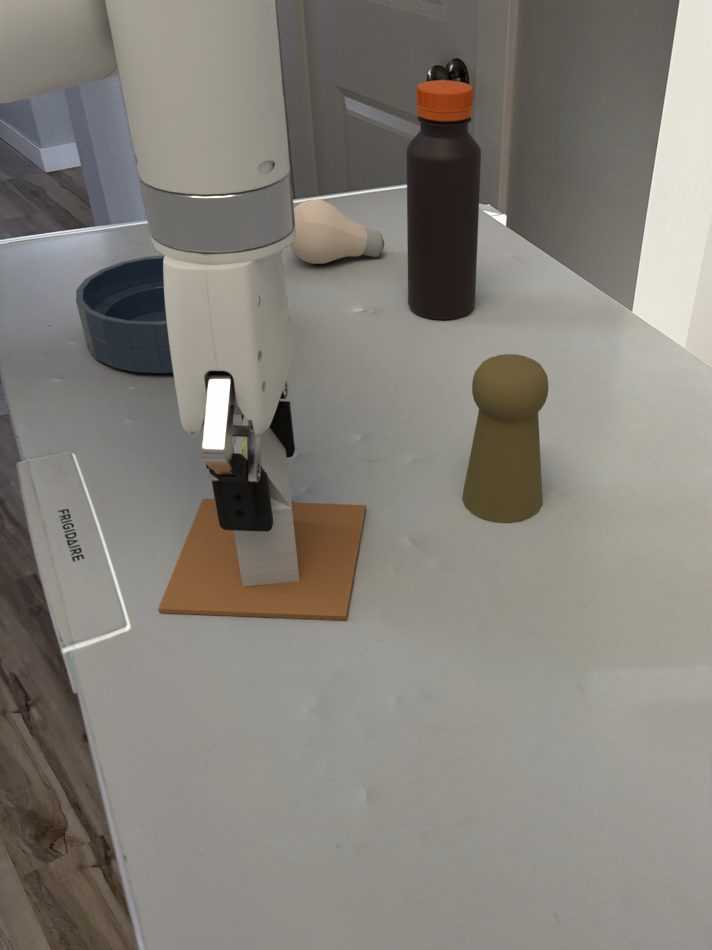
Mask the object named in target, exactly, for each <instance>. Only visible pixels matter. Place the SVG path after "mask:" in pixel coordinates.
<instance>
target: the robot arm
mask: <svg viewBox="0 0 712 950" xmlns="http://www.w3.org/2000/svg"><path fill="white" fill-rule="evenodd" d="M277 17H278V16H277V5H276V0H0V104H9V103H14V102H18V101H22V100H27V99H30V98H34V97H38V96H41V95H44V94H45V95H46V94H49V93H52V92H56V91H60V90H64V89H67V88H71V87H76V86H79V85H83V84H87V83H90V82H97V81H102V80H106V79H107V80H108V79H112V78H115V77H119V80H120V86H121V90H122V96H123V100H124V105H125V111H126V117H127V123H128V128H129V133H130V138H131V144H132V148H133V153H134V158H135V164H136V169H137V173H138V179H139V184H140V190H141V195H142V199H143V205H144V210H145V215H146V221H147V226H148V230H149V236H150V237H149V238H150V243H151V245H152V247H153V249H155V251H157V252H158V253H159V254H161V255H165V256H164V260H163V277H164V297H165V310H166V320H167V329H168V338H169V345H170V353H171V360H172V367H173V372H172V374H173V381H174V388H175V393H176V400H177V407H178V413H179V419H180V424H181V426H182V428H183V430H184V431H185V432H186V433H187V434H189V435H194V434H195V433H198V434H201V433H202V430H203V434H202V443H201V458H202V460H203V462H204V463H205V467H206V469H208V476H209V480H210V482H211V485H212V491H213V497H214V499H215V503H216V508H217V514H218V519H219V525H220V527H221V528H222V529H224V530H236V531H262V532H268V531H270V530H271V529H272V526H273V515H272V508H271V500H270V492H269V485H268V477H267V472H261V434H262V433H264V432H265V431H266V430H267V429H268V428H269V427H270V428H271V430H272V431H273V433H274V434H275V435H276V437H277V438H278V439H279V441H280V442H281V444H282V445H283V446H284V448H285V449H286V458H292V457H293V456H294V455H295V451H296V446H295V435H294V425H293V417H292V408H291V407H292V406H291V401H290V400H288V397H289V384H288V380H287V379H288V375H289V372H290V368H291V362H292V335H291V334H292V333H291V322H290V321H291V320H290V311H289V301H288V293H287V284H286V277H285V270H284V269H285V268H284V264H283V256H282V254H283V251H284V250H285V249H286V248H287V249H288V247H290V245H291V244H292V243H293V241H294V240H295V237H296V230H295V217H294V208H295V207H294V196H293V195H294V194H293V184H292V173H291V163H290V151H289V139H288V130H287V127H288V126H287V118H286V105H285V95H284V85H283V73H282V59H281V50H280V39H279V29H278V27H279V26H278V18H277ZM286 400H287V401H286ZM234 415H238V416H240V417H241V421H242V420H243V416H244V417H245V418H246V420H250V426H241V424H240V425H239V424H238V425H237V424H236V425H235V424H234ZM233 437H235V438H236V437H247V459H246V458H245V457H244V456H243V455H242V454H239V453H234V448H233Z"/></svg>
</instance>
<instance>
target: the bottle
mask: <svg viewBox="0 0 712 950" xmlns="http://www.w3.org/2000/svg"><path fill="white" fill-rule="evenodd" d="M473 99H474V88H473V86H472V85H471V84H468V83H467V82H463V81H458V80H448V79H447V80H445V79H440V80H439V79H437V80H435V79H434V80H428V81H424V82H421V83H419V84H418V85H417V86H416V114H417V121H418V122H419V123H420V130H419V131H418V132H417V134H416V135H415V136H414V137H413V138H412V139H411V141H410V142H409V143H408V146H407V148H406V219H407V220H406V225H407V226H406V227H407V228H406V229H407V230H406V231H407V234H406V235H407V237H406V238H407V239H406V240H407V304H408V306H409V308H410V309H411V311H413V312H414V313H415V314H417V315H418V316H421V317H423V318H427V319H432V320H443V321H444V320H453V319H458V318H462V317H464V316H467V315H468V314H470V313H471V312H472V311H473V310H474V309H475V305H476V291H477V290H476V286H477V266H478V265H477V264H478V263H477V262H478V261H477V260H478V243H479V242H478V241H479V240H478V238H479V213H480V212H479V211H480V187H481V167H482V164H481V163H482V149H481V146H480V145H479V144H478V143H477V141H476V140H475V139H474V137H473V136H472V135H471V134H470V132H469V124H470V123H471V122H472V115H473Z"/></svg>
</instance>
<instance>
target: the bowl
mask: <svg viewBox="0 0 712 950" xmlns="http://www.w3.org/2000/svg"><path fill="white" fill-rule="evenodd" d="M164 256H165V255H163V254H161V255H153V256H144V257H138V258H134V259H128V260H123V261H120V262H117V263H115V264H113V265H110V266H107V267H104V268H101V269H99V270H98V271H95V273H92V274H91V275H90V276H88V277H86V278H85V279H84V280H83V281H82V282H81V284H80V285H79V286H78V287H77V289H76V290H75V302H76V307H77V310H78V313H79V318H80V322H81V325H82V326H81V327H82V329H83V333H84V338H85V341H86V346H87V348H88V350H89V351H90V353H91V354H92V355H93V356H94V357H95V359H96V360H98V361H100V362H101V363H104V364H106V365H107V366H110V367H112V368H114V369H119V370H123V371H128V372H133V373H147V374H148V373H149V374H170V373H173V367H172V360H171V353H170V345H169V338H168V329H167V320H166V310H165V297H164V277H163V260H164Z"/></svg>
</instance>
